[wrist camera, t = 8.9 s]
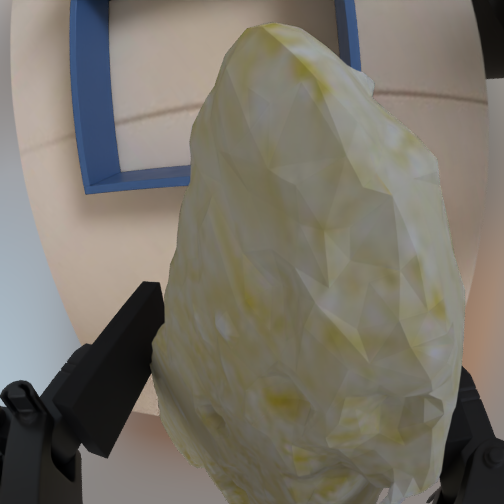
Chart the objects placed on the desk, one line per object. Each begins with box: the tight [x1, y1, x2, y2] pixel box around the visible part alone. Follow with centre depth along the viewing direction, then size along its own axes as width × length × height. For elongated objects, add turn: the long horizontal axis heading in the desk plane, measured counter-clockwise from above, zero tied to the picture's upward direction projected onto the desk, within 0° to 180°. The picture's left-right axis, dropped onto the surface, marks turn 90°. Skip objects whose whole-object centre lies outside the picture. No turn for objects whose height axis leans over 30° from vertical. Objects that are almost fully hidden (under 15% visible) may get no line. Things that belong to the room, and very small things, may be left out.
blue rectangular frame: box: [70, 0, 361, 195], centre depth 23 cm, size 25×22×6 cm
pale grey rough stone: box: [150, 22, 465, 504], centre depth 10 cm, size 15×7×15 cm
